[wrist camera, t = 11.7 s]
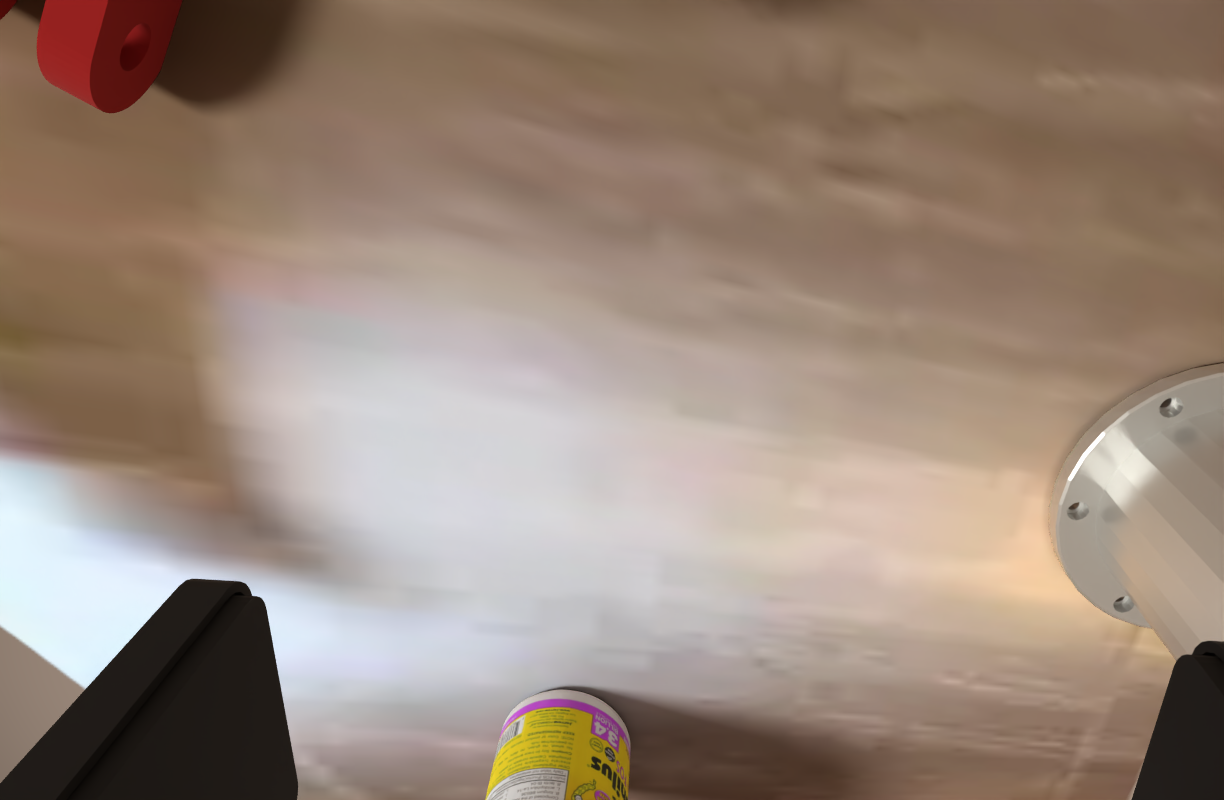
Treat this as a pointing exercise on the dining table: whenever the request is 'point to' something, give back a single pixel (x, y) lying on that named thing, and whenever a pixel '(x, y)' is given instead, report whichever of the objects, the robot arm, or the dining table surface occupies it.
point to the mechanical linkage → (103, 47)
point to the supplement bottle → (561, 750)
